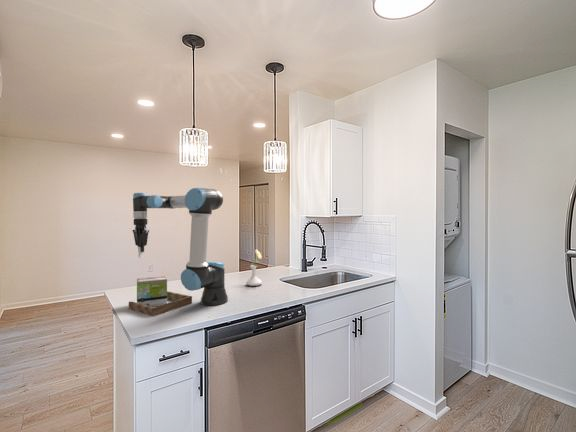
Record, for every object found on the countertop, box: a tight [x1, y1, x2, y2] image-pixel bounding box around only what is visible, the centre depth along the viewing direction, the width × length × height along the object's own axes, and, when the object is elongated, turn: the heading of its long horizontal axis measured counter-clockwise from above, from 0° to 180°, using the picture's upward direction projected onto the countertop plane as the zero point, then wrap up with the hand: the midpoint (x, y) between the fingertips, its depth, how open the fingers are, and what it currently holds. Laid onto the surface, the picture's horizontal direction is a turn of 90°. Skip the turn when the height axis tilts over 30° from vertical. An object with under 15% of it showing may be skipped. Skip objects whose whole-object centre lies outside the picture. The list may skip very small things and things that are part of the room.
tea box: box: [136, 275, 168, 307], centre depth 168 cm, size 15×10×15 cm
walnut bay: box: [128, 290, 193, 317], centre depth 165 cm, size 21×24×4 cm
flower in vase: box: [245, 249, 263, 287], centre depth 211 cm, size 13×11×25 cm
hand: (141, 257), depth 181 cm, fingers closed
